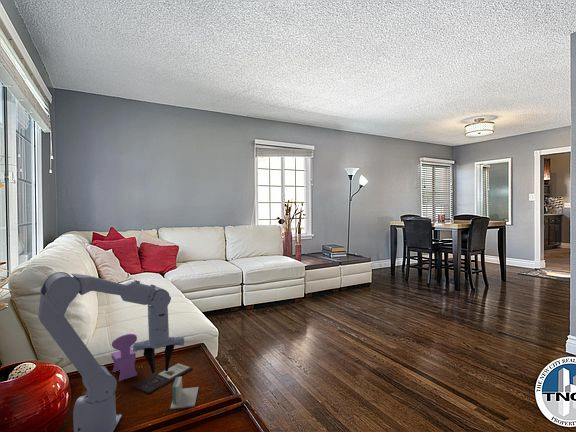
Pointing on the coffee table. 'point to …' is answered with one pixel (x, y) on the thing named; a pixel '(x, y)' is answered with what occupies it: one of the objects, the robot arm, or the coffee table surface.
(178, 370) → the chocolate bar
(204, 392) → the coffee table surface
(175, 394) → the tile
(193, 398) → the mat
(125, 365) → the toy chair
